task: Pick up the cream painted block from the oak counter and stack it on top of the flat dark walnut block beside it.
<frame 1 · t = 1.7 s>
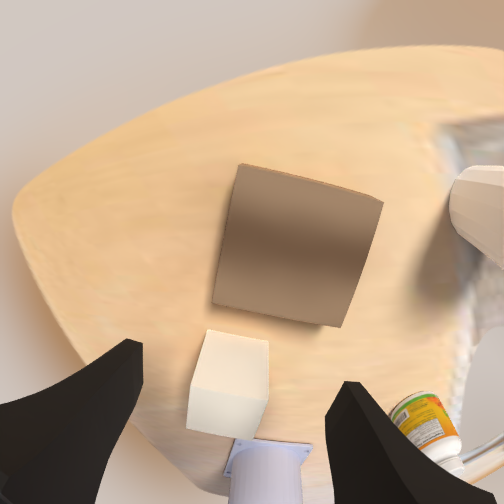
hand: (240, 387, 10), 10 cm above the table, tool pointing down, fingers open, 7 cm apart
cream block: (232, 358, 22), on the table
white cup: (474, 202, 17), on the table
supplement bottle: (413, 406, 24), on the table
walnut block: (291, 239, 19), on the table
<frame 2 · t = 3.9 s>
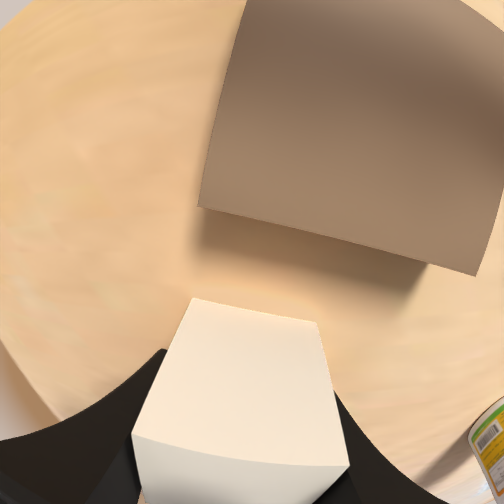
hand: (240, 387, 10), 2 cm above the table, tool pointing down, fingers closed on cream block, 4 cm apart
cream block: (243, 358, 11), on the table, touching gripper
supplement bottle: (494, 414, 13), on the table
walnut block: (365, 103, 8), on the table
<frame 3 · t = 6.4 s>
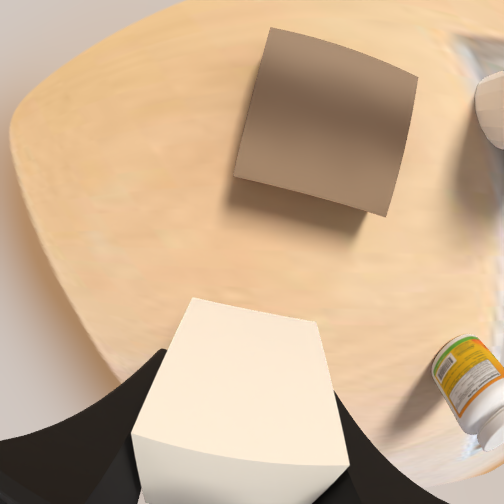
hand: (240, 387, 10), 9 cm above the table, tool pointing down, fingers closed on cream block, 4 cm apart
cream block: (243, 358, 11), point 8 cm above the table, touching gripper
white cup: (498, 112, 14), on the table
supplement bottle: (454, 356, 20), on the table
walnut block: (322, 123, 16), on the table
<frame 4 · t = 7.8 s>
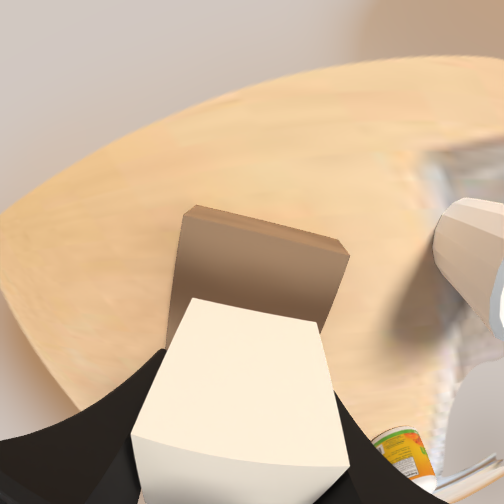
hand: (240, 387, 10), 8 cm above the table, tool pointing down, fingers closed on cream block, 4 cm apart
cream block: (243, 358, 11), point 7 cm above the table, touching gripper
white cup: (463, 238, 16), on the table
supplement bottle: (391, 439, 22), on the table
walnut block: (251, 284, 18), on the table
when the fingers open (6 cm above the table, at t = 8.8 s): cream block drops 1 cm, resting on walnut block.
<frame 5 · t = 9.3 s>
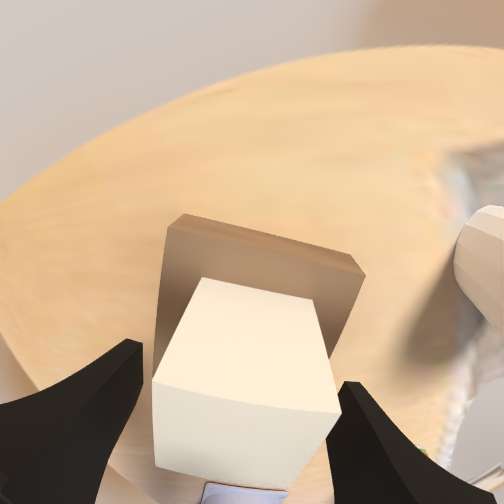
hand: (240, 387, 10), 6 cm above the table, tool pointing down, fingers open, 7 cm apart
cream block: (246, 334, 12), point 2 cm above the table, touching walnut block
white cup: (485, 250, 13), on the table
walnut block: (249, 304, 15), on the table, touching cream block
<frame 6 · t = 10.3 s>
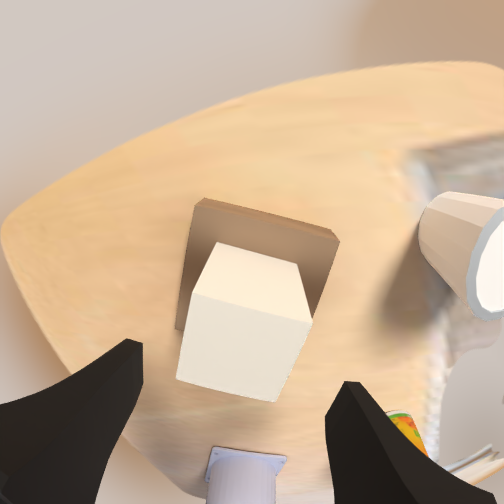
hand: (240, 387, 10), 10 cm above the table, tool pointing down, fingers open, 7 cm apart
cream block: (246, 289, 17), point 3 cm above the table, touching walnut block
white cup: (447, 229, 18), on the table
supplement bottle: (386, 423, 24), on the table
walnut block: (253, 269, 20), on the table, touching cream block
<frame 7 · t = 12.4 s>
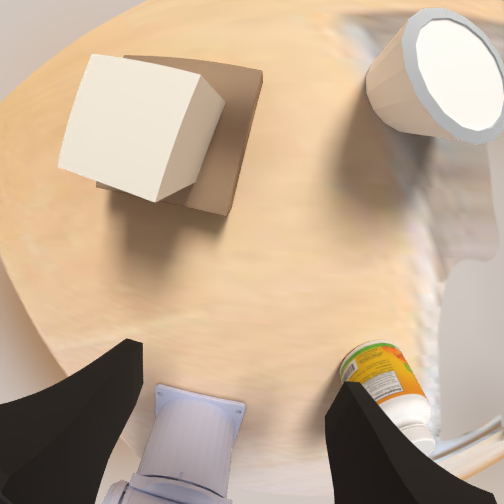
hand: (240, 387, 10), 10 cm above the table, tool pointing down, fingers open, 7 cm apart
cream block: (171, 129, 14), point 3 cm above the table, touching walnut block
white cup: (403, 92, 15), on the table
supplement bottle: (369, 362, 22), on the table
walnut block: (184, 131, 17), on the table, touching cream block
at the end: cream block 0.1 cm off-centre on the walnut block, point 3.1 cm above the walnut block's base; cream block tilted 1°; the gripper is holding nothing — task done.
